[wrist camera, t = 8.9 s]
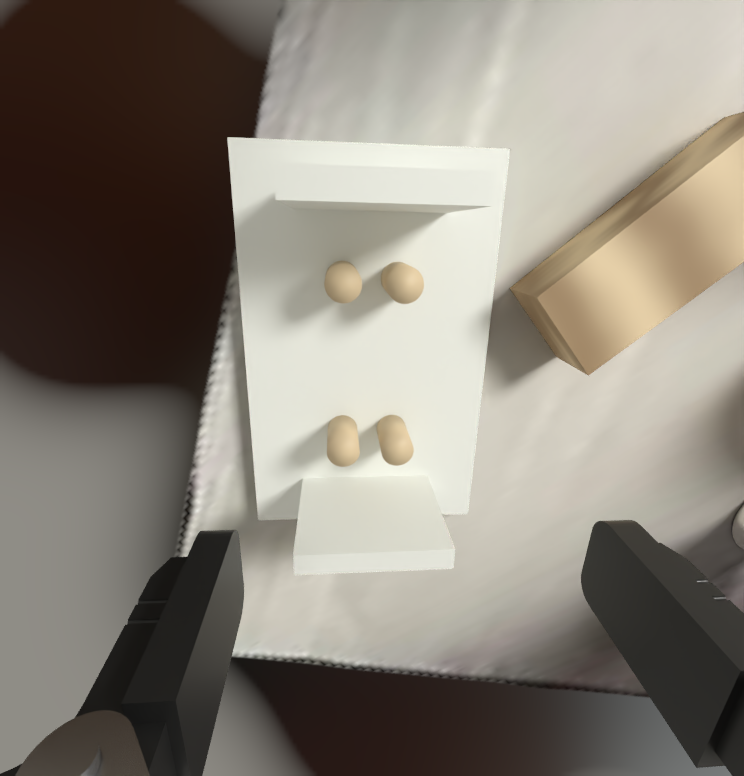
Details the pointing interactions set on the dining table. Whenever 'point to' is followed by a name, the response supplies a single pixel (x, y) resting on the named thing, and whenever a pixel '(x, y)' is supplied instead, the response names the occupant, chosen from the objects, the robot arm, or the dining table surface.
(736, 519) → the beer glass
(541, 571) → the dining table surface
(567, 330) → the plank
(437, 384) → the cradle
